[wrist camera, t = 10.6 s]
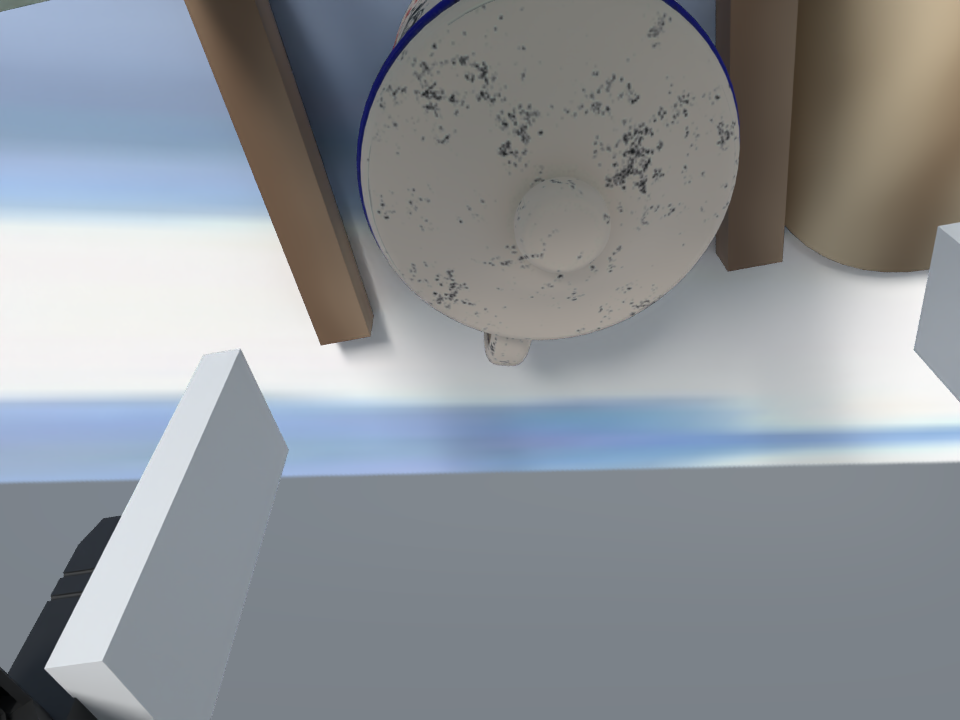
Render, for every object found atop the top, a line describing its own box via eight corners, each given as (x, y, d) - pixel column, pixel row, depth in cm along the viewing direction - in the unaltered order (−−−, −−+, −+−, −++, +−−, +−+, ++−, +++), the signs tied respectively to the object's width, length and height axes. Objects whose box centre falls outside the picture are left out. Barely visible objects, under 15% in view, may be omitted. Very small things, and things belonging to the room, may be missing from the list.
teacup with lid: (388, -96, 21) (338, -43, 12) (689, -58, 22) (870, 20, 12) (378, 266, 28) (340, 483, 19) (606, 285, 29) (681, 502, 19)
